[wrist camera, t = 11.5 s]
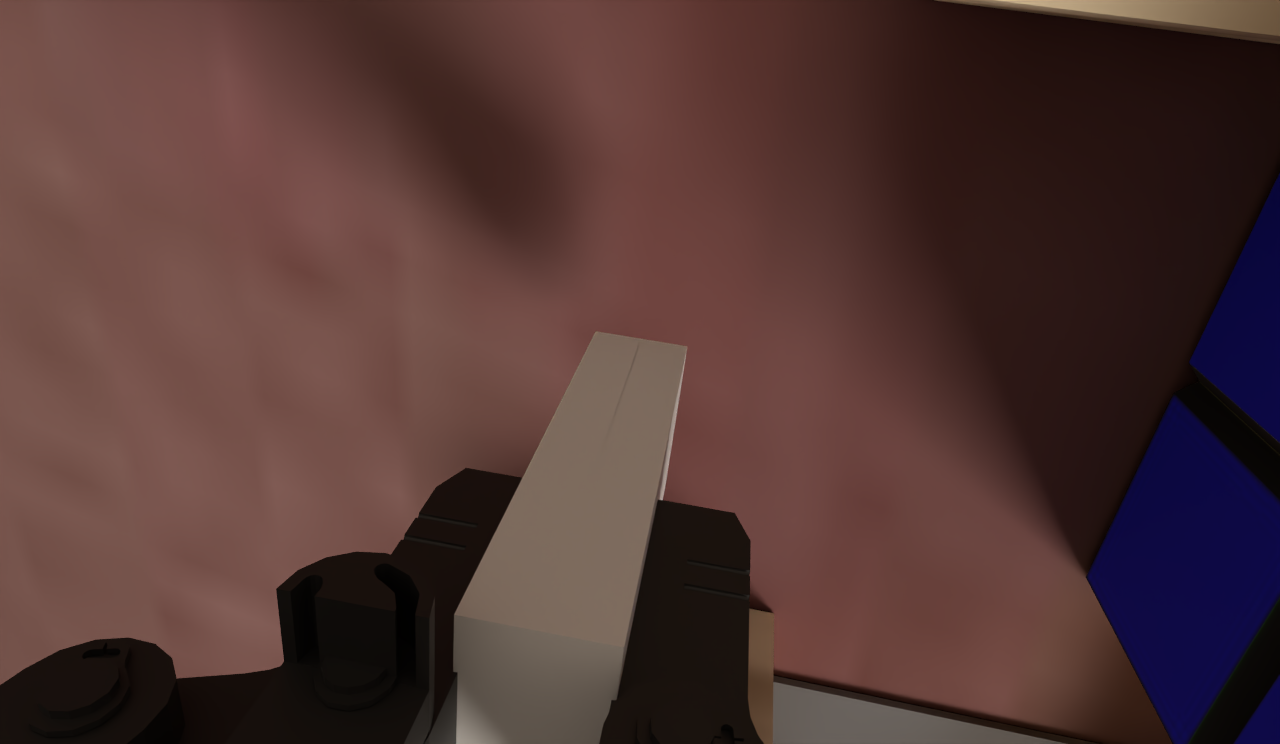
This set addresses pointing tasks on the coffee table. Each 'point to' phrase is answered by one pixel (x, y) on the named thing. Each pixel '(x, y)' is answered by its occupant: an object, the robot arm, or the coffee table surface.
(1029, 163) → the coffee table surface
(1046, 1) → the u-shaped frame
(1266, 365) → the puzzle cube
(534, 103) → the coffee table surface
